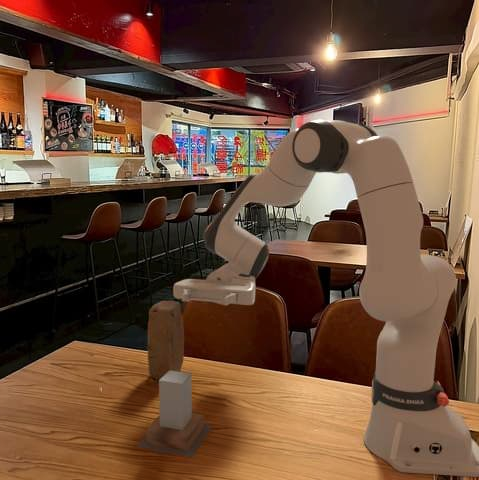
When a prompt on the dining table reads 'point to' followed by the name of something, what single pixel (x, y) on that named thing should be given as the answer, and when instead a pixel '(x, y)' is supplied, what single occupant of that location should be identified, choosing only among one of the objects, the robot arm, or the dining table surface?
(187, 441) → the base slab
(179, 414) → the pillar
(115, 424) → the dining table surface
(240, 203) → the robot arm
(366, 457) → the dining table surface
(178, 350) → the block
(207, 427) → the build pad
